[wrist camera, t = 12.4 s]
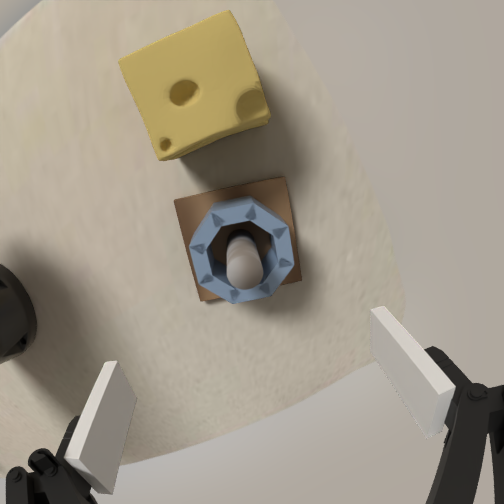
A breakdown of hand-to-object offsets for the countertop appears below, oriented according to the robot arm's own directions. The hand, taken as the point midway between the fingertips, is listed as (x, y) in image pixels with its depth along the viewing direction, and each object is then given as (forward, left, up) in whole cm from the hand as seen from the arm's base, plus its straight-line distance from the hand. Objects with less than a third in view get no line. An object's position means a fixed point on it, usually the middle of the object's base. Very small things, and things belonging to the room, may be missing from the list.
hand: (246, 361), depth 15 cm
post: (+1, 0, -22) cm, 22 cm away
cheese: (0, +16, -22) cm, 27 cm away
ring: (+1, 0, -21) cm, 21 cm away
